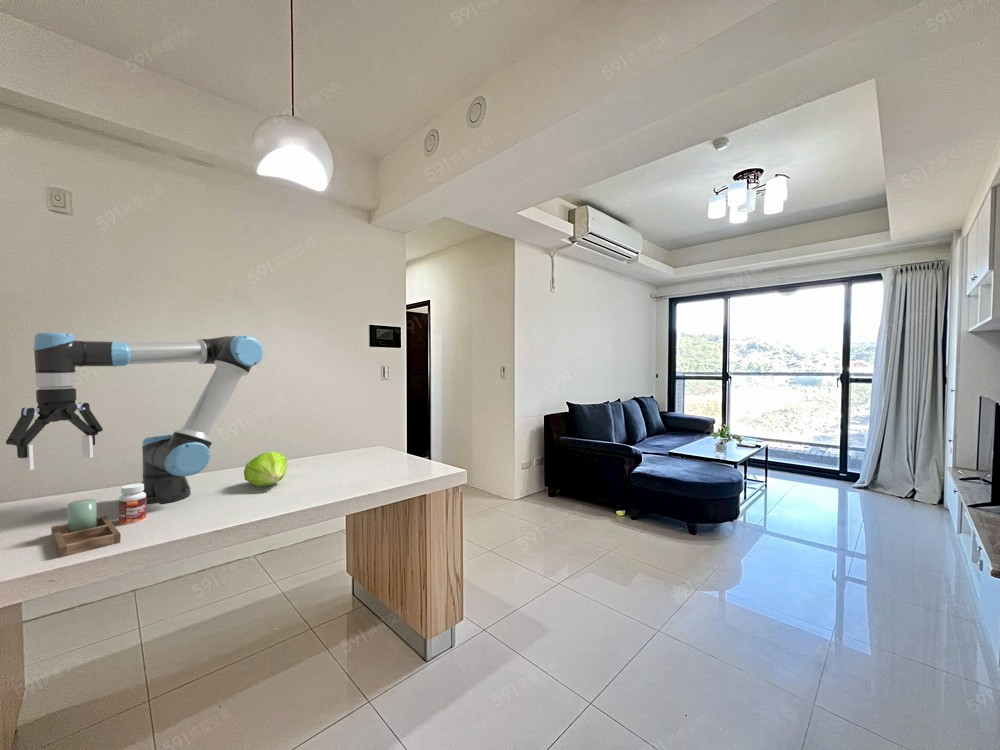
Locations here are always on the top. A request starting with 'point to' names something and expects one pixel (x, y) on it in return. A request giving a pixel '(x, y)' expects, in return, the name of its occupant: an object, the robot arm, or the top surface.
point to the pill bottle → (132, 504)
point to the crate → (84, 537)
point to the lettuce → (266, 469)
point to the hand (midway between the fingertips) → (59, 463)
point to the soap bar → (82, 515)
